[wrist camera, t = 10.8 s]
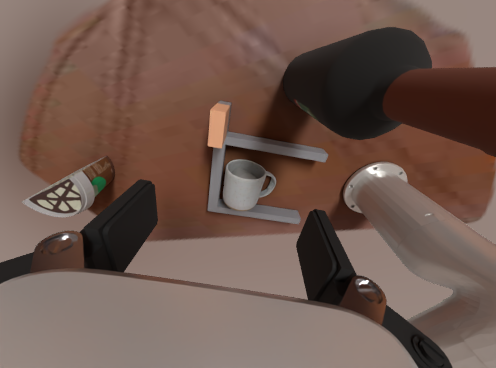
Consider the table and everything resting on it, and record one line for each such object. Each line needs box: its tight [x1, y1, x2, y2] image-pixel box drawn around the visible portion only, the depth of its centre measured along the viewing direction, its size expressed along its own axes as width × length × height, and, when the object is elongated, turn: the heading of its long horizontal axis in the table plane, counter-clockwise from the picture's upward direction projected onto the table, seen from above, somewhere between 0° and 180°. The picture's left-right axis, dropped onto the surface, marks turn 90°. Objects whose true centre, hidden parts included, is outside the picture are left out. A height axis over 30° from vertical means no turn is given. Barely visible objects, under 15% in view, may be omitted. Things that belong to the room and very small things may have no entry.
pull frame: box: [208, 101, 328, 224], centre depth 35 cm, size 20×22×9 cm
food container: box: [23, 156, 115, 217], centre depth 36 cm, size 12×6×10 cm, turn 114°
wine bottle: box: [283, 27, 496, 157], centre depth 18 cm, size 8×8×30 cm
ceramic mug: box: [223, 159, 276, 211], centre depth 37 cm, size 11×8×8 cm
